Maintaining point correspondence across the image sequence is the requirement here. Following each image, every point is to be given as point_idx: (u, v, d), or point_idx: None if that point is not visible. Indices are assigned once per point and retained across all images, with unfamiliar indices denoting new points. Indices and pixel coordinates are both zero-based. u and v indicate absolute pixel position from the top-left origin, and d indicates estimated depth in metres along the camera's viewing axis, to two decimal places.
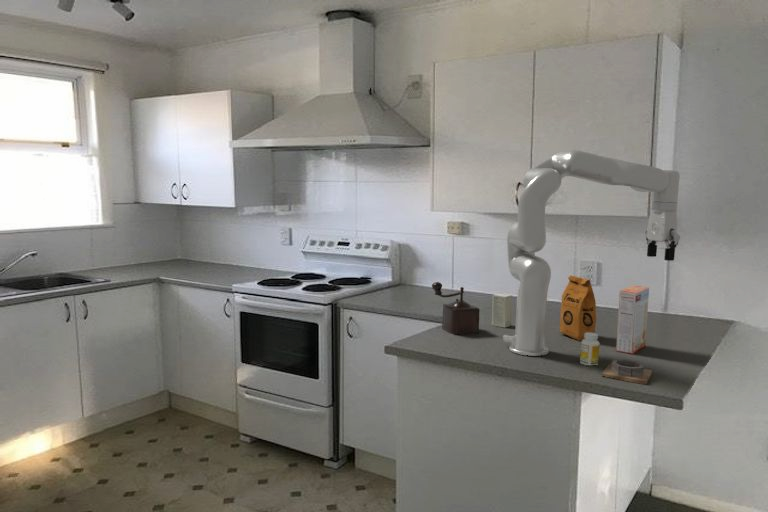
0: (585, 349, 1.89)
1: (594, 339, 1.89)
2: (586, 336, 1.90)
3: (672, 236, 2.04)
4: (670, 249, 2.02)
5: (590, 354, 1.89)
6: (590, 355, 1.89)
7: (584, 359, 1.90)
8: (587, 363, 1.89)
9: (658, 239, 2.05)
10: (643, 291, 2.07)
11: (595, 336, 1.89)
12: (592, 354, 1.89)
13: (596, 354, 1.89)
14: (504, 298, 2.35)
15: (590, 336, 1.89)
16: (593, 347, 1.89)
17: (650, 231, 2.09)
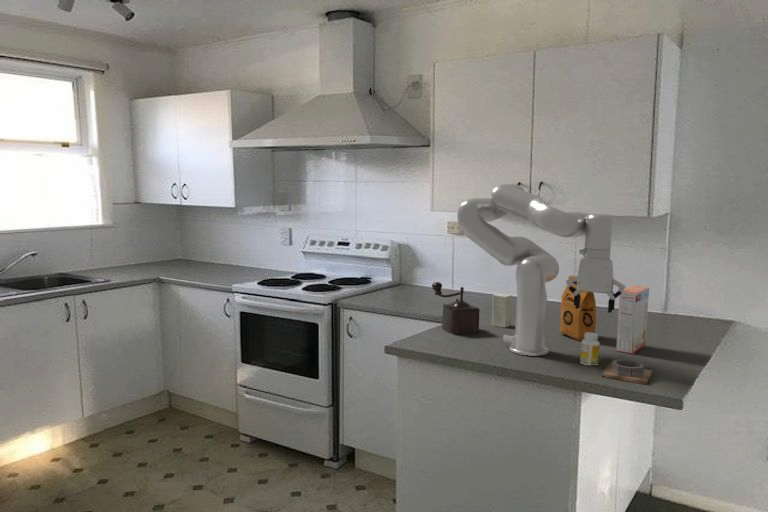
0: (585, 349, 1.89)
1: (594, 339, 1.89)
2: (586, 336, 1.90)
3: None
4: (614, 300, 1.86)
5: (590, 354, 1.89)
6: (590, 355, 1.89)
7: (584, 359, 1.90)
8: (587, 363, 1.89)
9: (601, 290, 1.85)
10: (643, 291, 2.07)
11: (595, 336, 1.89)
12: (592, 354, 1.89)
13: (596, 354, 1.89)
14: (504, 298, 2.35)
15: (590, 336, 1.89)
16: (593, 347, 1.89)
17: (585, 281, 1.87)
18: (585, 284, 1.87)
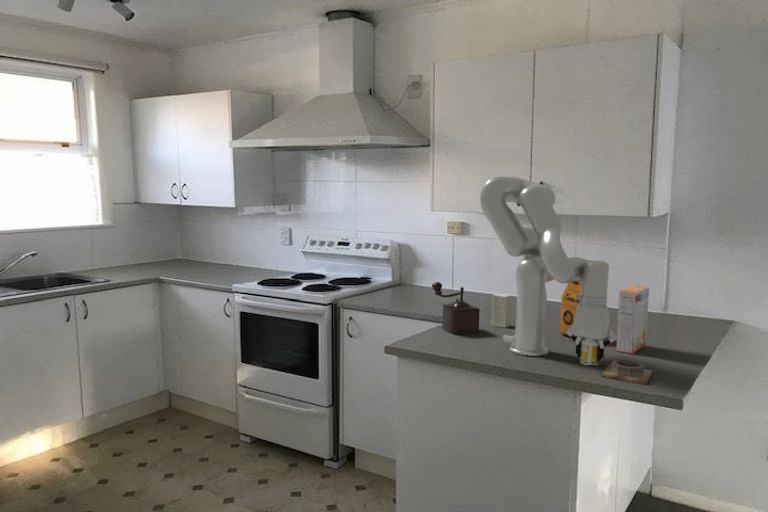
0: (585, 349, 1.89)
1: (594, 339, 1.89)
2: None
3: None
4: (603, 349, 1.89)
5: (590, 354, 1.89)
6: (590, 355, 1.89)
7: (583, 359, 1.90)
8: (587, 363, 1.89)
9: (597, 337, 1.87)
10: (643, 291, 2.07)
11: None
12: (592, 354, 1.89)
13: (596, 354, 1.89)
14: (504, 298, 2.35)
15: None
16: (593, 347, 1.89)
17: (581, 327, 1.89)
18: (581, 330, 1.89)
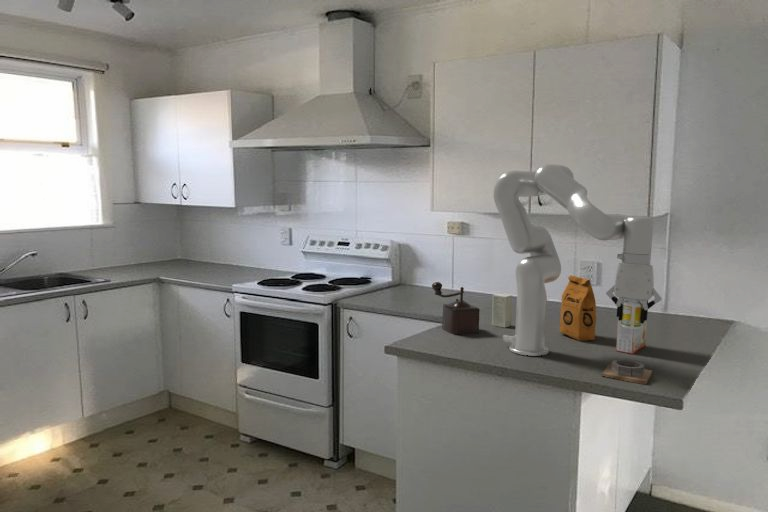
0: (628, 311, 1.77)
1: (637, 300, 1.77)
2: None
3: None
4: (647, 310, 1.77)
5: (633, 316, 1.77)
6: (633, 317, 1.77)
7: (626, 321, 1.78)
8: (630, 326, 1.77)
9: (640, 297, 1.75)
10: None
11: None
12: (635, 316, 1.77)
13: (639, 316, 1.77)
14: (504, 298, 2.35)
15: None
16: (636, 308, 1.76)
17: (623, 288, 1.77)
18: (623, 290, 1.77)
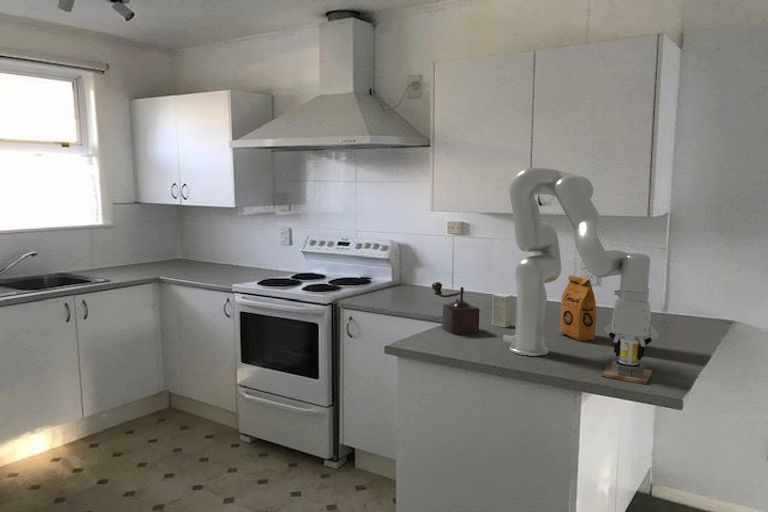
0: (625, 347, 1.79)
1: None
2: None
3: None
4: (644, 347, 1.78)
5: (630, 353, 1.78)
6: (630, 353, 1.78)
7: (623, 358, 1.79)
8: (627, 362, 1.79)
9: (637, 334, 1.76)
10: None
11: None
12: (632, 353, 1.78)
13: (637, 352, 1.78)
14: (504, 298, 2.35)
15: None
16: (633, 345, 1.78)
17: (620, 324, 1.79)
18: (621, 327, 1.79)
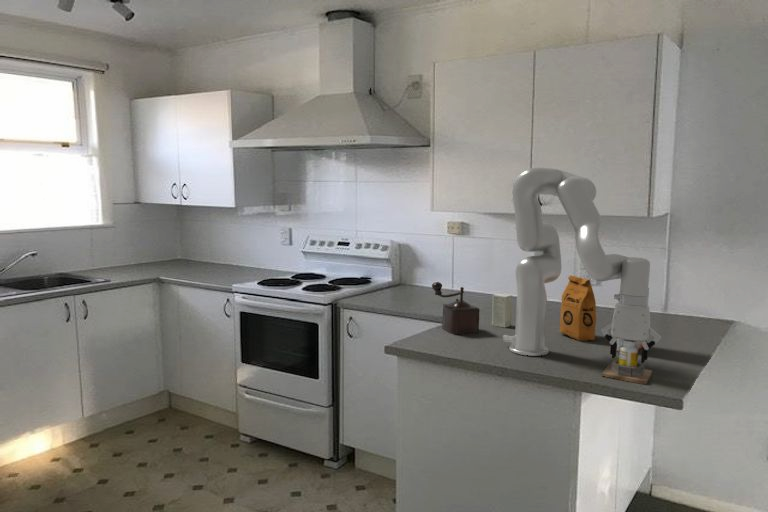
0: (623, 356, 1.79)
1: (633, 345, 1.79)
2: (624, 342, 1.80)
3: None
4: (647, 350, 1.78)
5: (628, 362, 1.79)
6: (628, 362, 1.79)
7: None
8: None
9: (637, 338, 1.77)
10: None
11: (634, 342, 1.79)
12: (631, 362, 1.79)
13: (635, 361, 1.79)
14: (504, 298, 2.35)
15: (628, 342, 1.79)
16: (632, 354, 1.78)
17: (620, 328, 1.79)
18: (620, 331, 1.79)
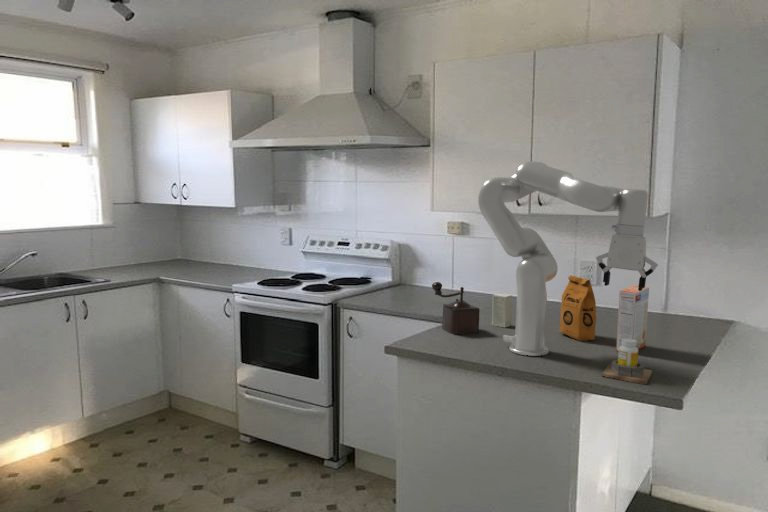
0: (623, 356, 1.79)
1: (633, 345, 1.79)
2: (624, 342, 1.80)
3: None
4: (645, 278, 1.81)
5: (628, 362, 1.79)
6: (628, 362, 1.79)
7: None
8: None
9: (632, 267, 1.81)
10: (643, 291, 2.07)
11: (634, 342, 1.79)
12: (631, 362, 1.79)
13: (635, 361, 1.79)
14: (504, 298, 2.35)
15: (629, 342, 1.79)
16: (632, 354, 1.78)
17: (616, 258, 1.83)
18: (616, 260, 1.83)
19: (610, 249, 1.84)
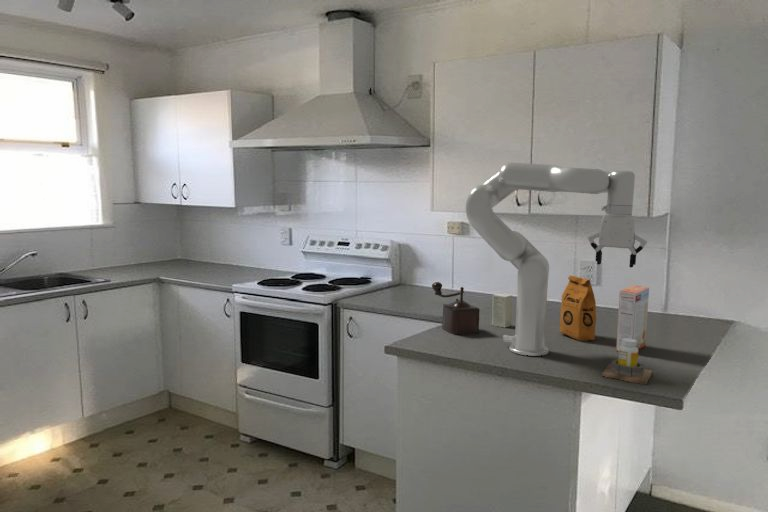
0: (623, 356, 1.79)
1: (633, 345, 1.79)
2: (624, 342, 1.80)
3: None
4: (635, 255, 1.90)
5: (628, 361, 1.79)
6: (628, 362, 1.79)
7: None
8: None
9: (623, 245, 1.89)
10: (643, 291, 2.07)
11: (634, 342, 1.79)
12: (631, 362, 1.79)
13: (635, 361, 1.79)
14: (504, 298, 2.35)
15: (629, 342, 1.79)
16: (632, 354, 1.78)
17: (607, 237, 1.92)
18: (607, 240, 1.92)
19: (601, 229, 1.92)
